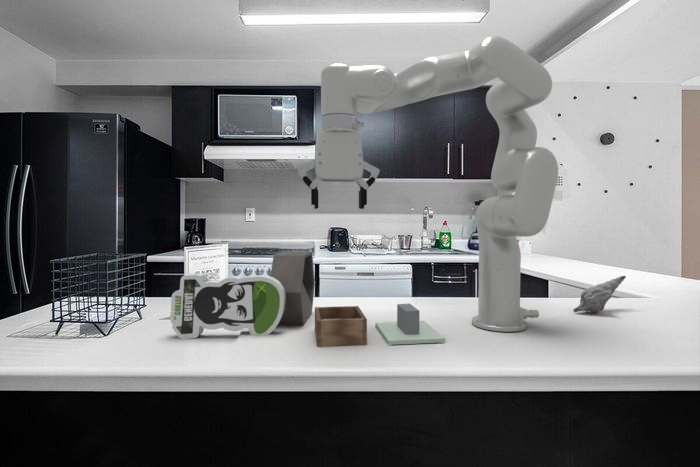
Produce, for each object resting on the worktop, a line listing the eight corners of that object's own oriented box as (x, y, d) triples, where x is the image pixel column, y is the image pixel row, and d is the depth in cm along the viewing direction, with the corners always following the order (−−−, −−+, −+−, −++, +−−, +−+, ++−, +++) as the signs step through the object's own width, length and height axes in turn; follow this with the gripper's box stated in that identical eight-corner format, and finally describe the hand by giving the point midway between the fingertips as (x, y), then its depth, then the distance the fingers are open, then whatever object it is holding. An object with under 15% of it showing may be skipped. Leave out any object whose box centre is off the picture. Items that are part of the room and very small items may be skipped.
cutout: (165, 276, 84) (281, 267, 84) (171, 275, 87) (283, 266, 87) (172, 345, 85) (286, 336, 85) (178, 341, 87) (288, 332, 88)
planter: (297, 315, 86) (307, 235, 96) (263, 315, 86) (276, 235, 97) (309, 337, 100) (316, 266, 111) (280, 337, 101) (290, 265, 111)
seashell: (562, 309, 112) (563, 274, 112) (620, 309, 112) (621, 274, 112) (583, 318, 102) (584, 280, 102) (647, 318, 102) (648, 280, 102)
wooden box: (358, 331, 90) (358, 306, 90) (366, 348, 78) (366, 319, 78) (314, 333, 89) (314, 307, 88) (317, 350, 77) (316, 320, 76)
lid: (423, 329, 93) (423, 300, 93) (445, 348, 79) (445, 314, 79) (375, 331, 91) (375, 301, 91) (388, 350, 78) (388, 315, 77)
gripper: (375, 132, 86) (375, 209, 87) (297, 130, 84) (298, 209, 85) (383, 124, 79) (382, 208, 80) (297, 121, 77) (297, 208, 77)
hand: (339, 208), depth 82 cm, fingers open, 9 cm apart
